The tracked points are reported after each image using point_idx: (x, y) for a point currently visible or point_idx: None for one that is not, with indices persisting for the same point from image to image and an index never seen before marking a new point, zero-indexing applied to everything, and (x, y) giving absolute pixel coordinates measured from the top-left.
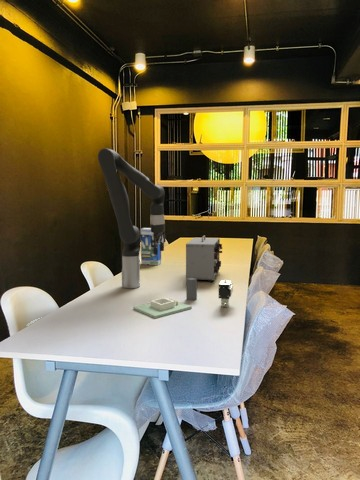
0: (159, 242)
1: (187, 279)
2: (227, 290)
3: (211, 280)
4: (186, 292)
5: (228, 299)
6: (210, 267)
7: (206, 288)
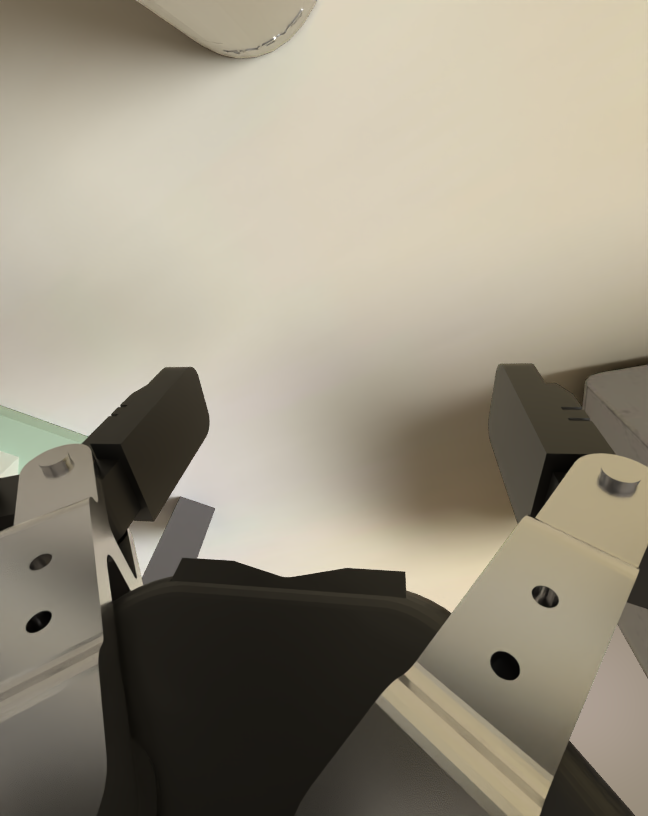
0: (546, 505)
1: None
2: None
3: None
4: (168, 522)
5: None
6: None
7: (415, 516)
